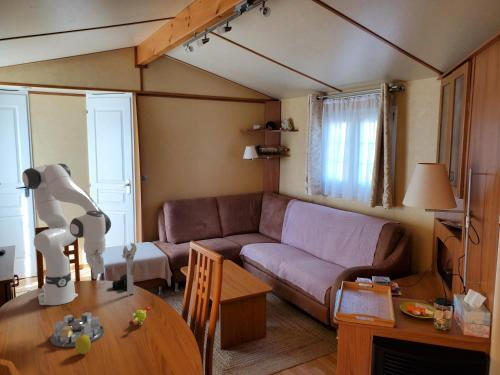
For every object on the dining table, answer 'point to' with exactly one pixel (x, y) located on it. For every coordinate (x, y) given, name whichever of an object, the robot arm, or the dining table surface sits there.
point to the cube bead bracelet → (65, 330)
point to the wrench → (129, 266)
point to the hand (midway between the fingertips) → (94, 277)
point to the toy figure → (139, 316)
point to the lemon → (82, 344)
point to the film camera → (120, 283)
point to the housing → (76, 328)
